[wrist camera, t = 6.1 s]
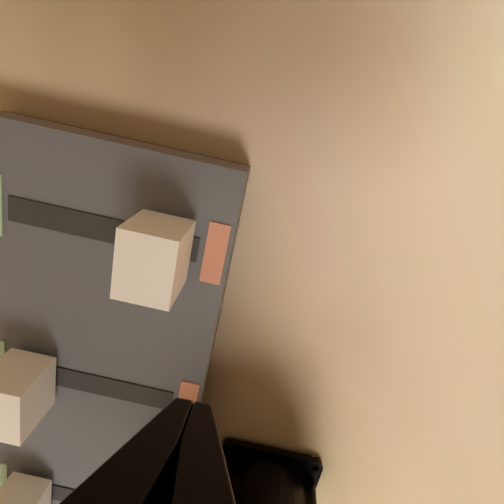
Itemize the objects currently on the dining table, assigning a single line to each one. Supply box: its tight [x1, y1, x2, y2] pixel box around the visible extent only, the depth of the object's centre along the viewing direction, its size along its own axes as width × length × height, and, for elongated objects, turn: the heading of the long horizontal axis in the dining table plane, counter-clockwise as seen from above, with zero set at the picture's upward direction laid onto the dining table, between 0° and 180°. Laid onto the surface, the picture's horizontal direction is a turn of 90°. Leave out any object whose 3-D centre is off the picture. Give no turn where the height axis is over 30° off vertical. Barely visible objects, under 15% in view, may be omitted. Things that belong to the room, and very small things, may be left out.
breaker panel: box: [0, 111, 250, 504], centre depth 22 cm, size 12×25×2 cm, turn 168°
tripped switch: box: [110, 209, 196, 312], centre depth 16 cm, size 2×3×3 cm
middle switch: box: [0, 348, 56, 447], centre depth 19 cm, size 2×3×3 cm
